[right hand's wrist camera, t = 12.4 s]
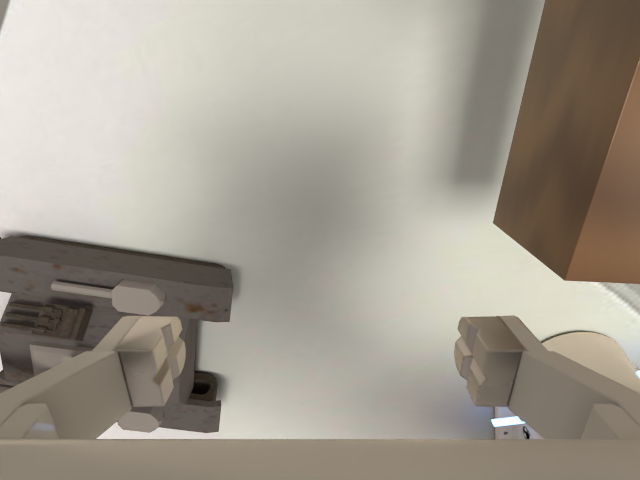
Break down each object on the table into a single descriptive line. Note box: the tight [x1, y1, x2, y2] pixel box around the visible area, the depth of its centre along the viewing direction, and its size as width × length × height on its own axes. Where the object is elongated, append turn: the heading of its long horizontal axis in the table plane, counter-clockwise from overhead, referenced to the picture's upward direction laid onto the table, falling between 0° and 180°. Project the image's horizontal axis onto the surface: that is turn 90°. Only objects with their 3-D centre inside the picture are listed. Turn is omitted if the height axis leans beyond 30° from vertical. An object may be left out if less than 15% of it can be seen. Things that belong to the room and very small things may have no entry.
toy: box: [0, 236, 233, 433], centre depth 37 cm, size 25×20×15 cm
